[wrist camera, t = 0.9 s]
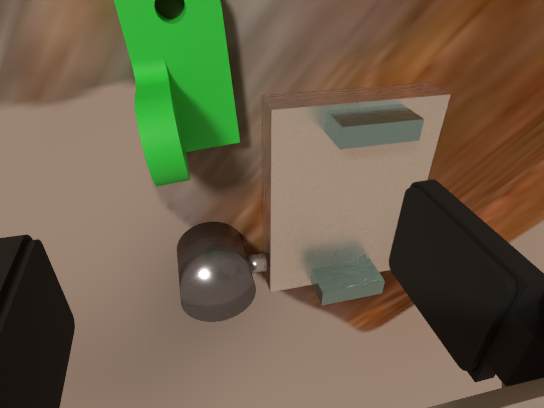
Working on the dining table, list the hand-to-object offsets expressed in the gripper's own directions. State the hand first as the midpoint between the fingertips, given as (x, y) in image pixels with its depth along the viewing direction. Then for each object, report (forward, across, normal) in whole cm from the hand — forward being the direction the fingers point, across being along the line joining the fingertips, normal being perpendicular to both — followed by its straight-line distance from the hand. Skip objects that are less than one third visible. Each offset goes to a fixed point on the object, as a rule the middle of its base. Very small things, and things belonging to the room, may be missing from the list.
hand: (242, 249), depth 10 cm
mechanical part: (+20, 0, 0) cm, 21 cm away
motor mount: (+20, -8, +12) cm, 25 cm away
